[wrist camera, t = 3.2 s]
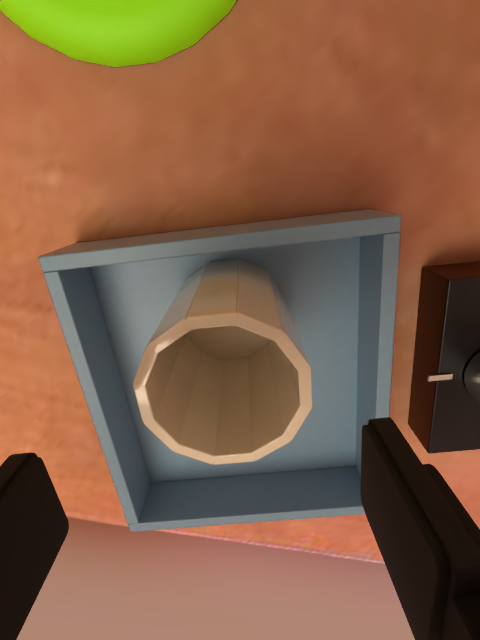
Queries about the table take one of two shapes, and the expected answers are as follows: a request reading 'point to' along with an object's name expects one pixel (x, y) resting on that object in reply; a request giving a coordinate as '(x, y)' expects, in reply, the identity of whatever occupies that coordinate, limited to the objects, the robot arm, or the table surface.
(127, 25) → the wineglass
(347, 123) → the table surface
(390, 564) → the robot arm
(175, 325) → the cup
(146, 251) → the tray
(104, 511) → the table surface
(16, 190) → the table surface
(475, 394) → the control knob
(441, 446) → the black dial panel
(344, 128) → the table surface
